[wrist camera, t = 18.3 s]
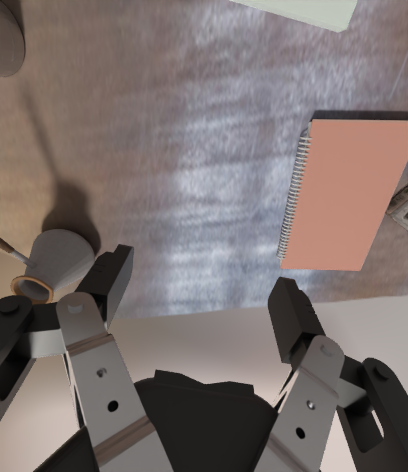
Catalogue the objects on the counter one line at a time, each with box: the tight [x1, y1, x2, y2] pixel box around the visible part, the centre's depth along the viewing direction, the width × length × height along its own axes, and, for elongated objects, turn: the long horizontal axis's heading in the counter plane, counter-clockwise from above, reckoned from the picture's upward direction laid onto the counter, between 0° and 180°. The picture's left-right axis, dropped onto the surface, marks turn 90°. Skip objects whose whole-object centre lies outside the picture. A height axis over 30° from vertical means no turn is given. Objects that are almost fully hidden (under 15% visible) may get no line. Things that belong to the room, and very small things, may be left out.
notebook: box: [277, 119, 408, 271], centre depth 43 cm, size 27×17×2 cm, turn 179°
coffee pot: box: [0, 229, 95, 304], centre depth 41 cm, size 21×12×15 cm, turn 10°
